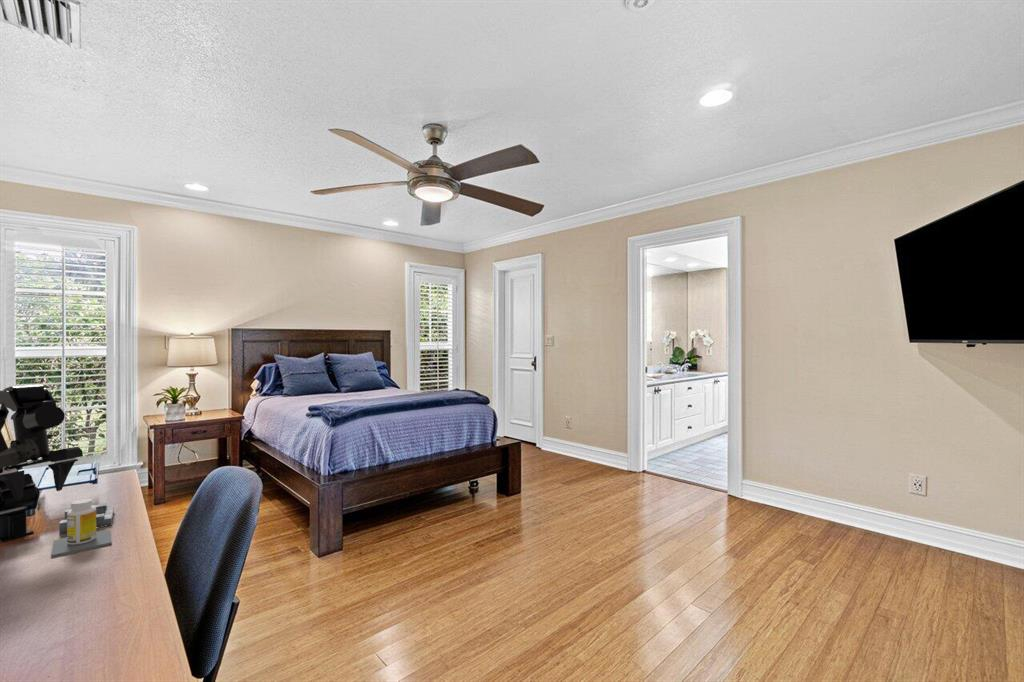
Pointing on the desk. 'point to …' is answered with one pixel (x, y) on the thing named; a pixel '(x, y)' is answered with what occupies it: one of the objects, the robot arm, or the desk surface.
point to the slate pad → (64, 548)
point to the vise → (100, 519)
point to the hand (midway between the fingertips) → (39, 495)
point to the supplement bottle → (81, 522)
